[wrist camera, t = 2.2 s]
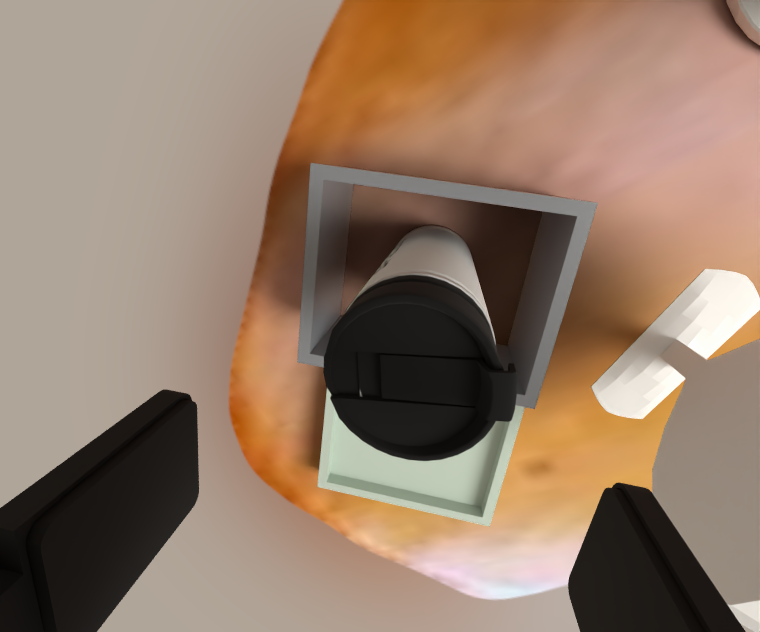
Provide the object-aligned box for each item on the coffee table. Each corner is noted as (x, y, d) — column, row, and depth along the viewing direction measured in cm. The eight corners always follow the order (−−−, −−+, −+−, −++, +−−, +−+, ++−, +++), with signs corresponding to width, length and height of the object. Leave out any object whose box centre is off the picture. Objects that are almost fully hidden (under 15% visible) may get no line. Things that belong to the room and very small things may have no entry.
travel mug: (475, 304, 32) (512, 482, 13) (392, 303, 33) (319, 466, 14) (478, 223, 30) (528, 299, 11) (390, 225, 31) (301, 296, 12)
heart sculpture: (624, 435, 33) (802, 696, 17) (574, 403, 33) (703, 635, 16) (786, 284, 28) (1303, 444, 11) (728, 245, 28) (1161, 347, 11)
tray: (337, 342, 35) (330, 352, 33) (524, 377, 33) (529, 390, 31) (324, 470, 40) (317, 486, 38) (487, 507, 38) (489, 526, 36)
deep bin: (344, 166, 30) (310, 162, 23) (558, 196, 28) (598, 202, 21) (330, 322, 34) (297, 362, 27) (515, 356, 33) (534, 409, 25)
